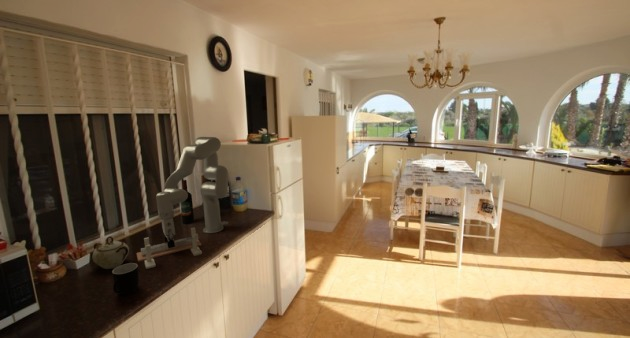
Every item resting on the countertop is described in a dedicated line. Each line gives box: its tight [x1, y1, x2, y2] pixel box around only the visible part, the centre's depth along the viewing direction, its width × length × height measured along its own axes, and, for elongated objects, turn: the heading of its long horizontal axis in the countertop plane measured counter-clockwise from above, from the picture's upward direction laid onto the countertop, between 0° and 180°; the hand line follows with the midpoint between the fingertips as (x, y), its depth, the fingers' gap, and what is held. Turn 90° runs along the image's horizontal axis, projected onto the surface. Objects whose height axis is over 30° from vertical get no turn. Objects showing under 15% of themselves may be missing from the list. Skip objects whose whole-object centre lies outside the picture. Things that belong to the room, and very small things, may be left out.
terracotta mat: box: [136, 239, 202, 263], centre depth 160 cm, size 31×10×1 cm, turn 125°
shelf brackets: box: [143, 227, 203, 270], centre depth 149 cm, size 26×8×13 cm, turn 125°
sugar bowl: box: [91, 235, 130, 270], centre depth 143 cm, size 20×15×15 cm
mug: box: [111, 262, 140, 296], centre depth 120 cm, size 12×9×10 cm
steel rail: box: [140, 236, 192, 256], centre depth 159 cm, size 27×3×3 cm, turn 125°
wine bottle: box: [179, 179, 195, 225], centre depth 199 cm, size 8×8×30 cm
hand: (169, 244), depth 159 cm, fingers open, 9 cm apart
